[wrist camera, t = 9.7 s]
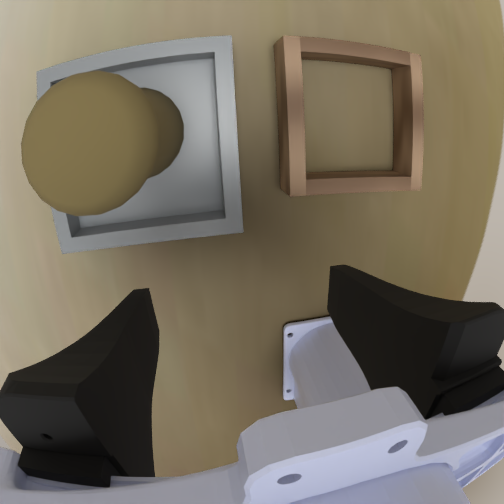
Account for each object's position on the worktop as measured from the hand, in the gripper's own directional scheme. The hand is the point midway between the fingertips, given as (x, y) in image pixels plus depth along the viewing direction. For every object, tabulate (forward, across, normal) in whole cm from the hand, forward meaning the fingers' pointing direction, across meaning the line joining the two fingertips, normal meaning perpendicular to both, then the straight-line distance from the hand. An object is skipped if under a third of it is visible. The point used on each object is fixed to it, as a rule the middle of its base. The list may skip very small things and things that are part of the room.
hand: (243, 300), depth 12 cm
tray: (+10, +5, -6) cm, 13 cm away
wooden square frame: (+10, -9, -7) cm, 15 cm away
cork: (+10, +5, -6) cm, 13 cm away
